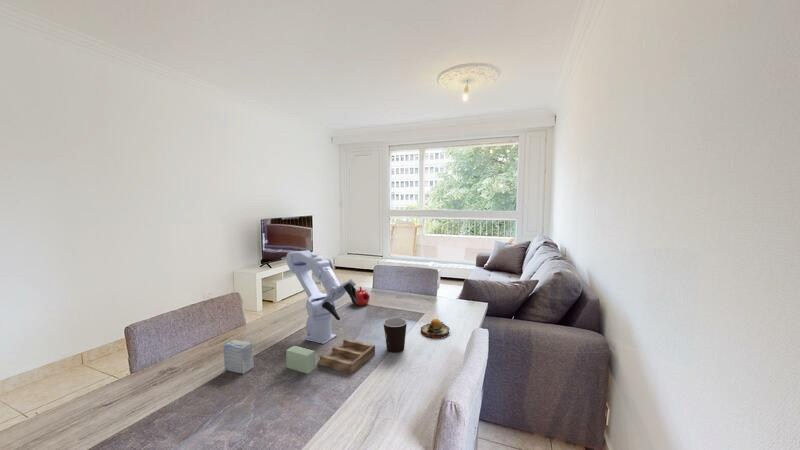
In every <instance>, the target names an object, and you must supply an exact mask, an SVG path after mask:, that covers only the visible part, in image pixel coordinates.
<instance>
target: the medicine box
mask: <svg viewBox="0 0 800 450" xmlns="http://www.w3.org/2000/svg"><path fill="white" fill-rule="evenodd" d="M253 349H254V348H253V343H252V342H251V341H250V342H249V341H243V340H238V339H233V340H231V341H229V342H227V343H225V344H224V345H223V360H224V361H223V362H224V370H225V371H227V370H228V372H233V373H238V374H241V373H242V374H243V375H244V374H246V373H247V372H249V371H250V370H251V369H254V367H255V365H254V351H253ZM242 374H241V375H242Z"/></svg>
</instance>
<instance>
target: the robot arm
mask: <svg viewBox="0 0 800 450" xmlns="http://www.w3.org/2000/svg"><path fill="white" fill-rule="evenodd" d="M286 264H287V266H288V268H289V271H290V272H291V273H292V274H294V275H295V277H296V279H297V280H298V282H299V283H300V285H301V288H302V289H303V291H304V292H305V294H306V295H307V297H308V298H307V299H306V303H305V308H306V311H307V315H308V317H307V319H306V322H305V325H306V330H305V331H306V337H305V340H306V341H311V342H315V343H319V344H321V345H325V344H326V343H328V342H330V340H333V339H334V338H335V337H337V334H335V333H332V317H333V318H335V320H337V321H340V320H341V318H340V316H339V314H338V313H337V311H336V302H335V301H337V300H339V299H341V298H342V297H343V296H344V295H346V294H345V293H347V295H348V296H349V297H350V300H351V302H352V301H353V303H354V304H355V306H356V307H357V306H358V303H357V299H356V291H357V290H356V289H357V288H355V286H356V283H355V281H354V280H353V279H352V278H350V279H348V281H345V282H343V283H341V282H340V280H339V279H338V276H337V275H336V274H335V271H334V270H333V267H334V266H333V263H332V261H331V260H330V259H329V258H328V259H325V260H324V259H323V258H321V257H319V256H318V255H317V254H312V253H311V250H309V249H306V250H300V251H299V250H298V251H289V252H287V254H286ZM310 271H311V272H312V273H313V276H314V277H315V278H317V280H319V281H320V282H321V284H322V287H323V288H324V290H325V292H326V293H323V292H321V290H320V289H319V287H318V286H317V284H316V283H315V281H314V279H313V278H312V276H311V275H310V273H309V272H310ZM353 303H352V304H353ZM354 304H353V305H354Z"/></svg>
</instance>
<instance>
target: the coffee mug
mask: <svg viewBox="0 0 800 450" xmlns="http://www.w3.org/2000/svg"><path fill="white" fill-rule="evenodd" d="M407 321H408V320H406V319H405V318H401V317H390V318H386V319H384V320H383V332H384V338H385V344H386V350H387V352H390V353H393V354H394V353H395V354H396V353H401V352H403V351H404V349H405V344H406V334H407V325H408V323H407Z"/></svg>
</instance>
